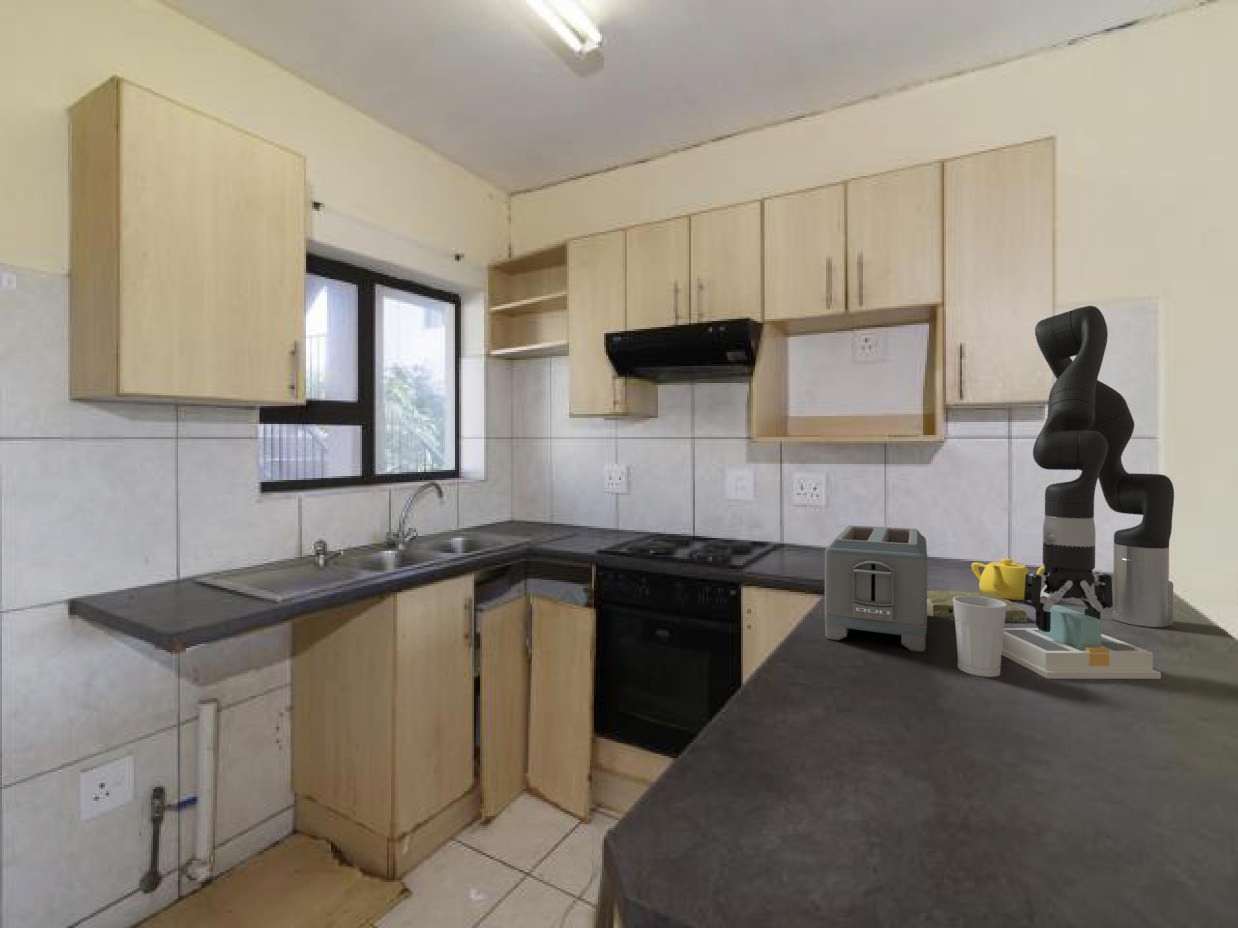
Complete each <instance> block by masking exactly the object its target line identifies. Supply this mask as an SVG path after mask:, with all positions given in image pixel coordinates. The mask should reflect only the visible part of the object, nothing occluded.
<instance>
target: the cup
mask: <svg viewBox="0 0 1238 928" xmlns="http://www.w3.org/2000/svg"><path fill="white" fill-rule="evenodd" d="M953 606H954V617H955V618H954V623H955V638H956V649H957V668H958V670H960V671H962V672H964V673H967V674H970V675H973V676H979V677H987V678H988V677H989V678H993V677H998V676H1000V675H1001V665H1002V664H1001V662H1002V655H1001V654H1002V644H1003V634H1004V628H1005V625H1006V624H1005V623H1006V621H1005V616H1006V608H1007V604H1006V603H1004V602H1002V601H999V600H996V599H991V598H986V597H978V596H957V597H954V598H953Z"/></svg>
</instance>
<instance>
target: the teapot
mask: <svg viewBox="0 0 1238 928" xmlns="http://www.w3.org/2000/svg"><path fill="white" fill-rule="evenodd" d="M1000 561H1001V562H1000ZM1000 561H993V562H992V561H991V562H989V563H987V564H985V563H981V562H972V563H971V566H970V567H971V569H972V572H973V573H974V575H975V576H976V578H978V580H979V583H978V584H979V585H978V586H979V587H978V588H979V589H980V593H991V594H993V595H997V596H1000V597H1001V598H1002V599H1005V600H1010V601H1024V592H1025V578H1026V573H1028V572H1030V570H1029V569H1028V567H1027V566H1026V565H1024V564H1019V563H1018V562H1013V559H1011V558H1001V559H1000ZM979 567H982V568H984V569H983V571H982V573H981V572H980V570H979ZM1044 570H1045V567H1044V566H1040V567H1039V568H1037V571H1036V574H1043V573H1044Z"/></svg>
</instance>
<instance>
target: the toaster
mask: <svg viewBox="0 0 1238 928" xmlns="http://www.w3.org/2000/svg"><path fill="white" fill-rule="evenodd" d="M926 539H927V538H926V537H925V536H924V535H922V533H920V531H919V530H918V529H917V528H909V527H887V526H886V527H885V526H869V525H868V526H867V525H851V524H850V525H847V526H846V527H845V529H843V531H841V532H840V534H838V535H837V537H835V538H834V540H833V541H832V542H831V543H830V544H829V545H828V546H827V547H826V548H825V550H824V623H825V624H824V627H825V628H824V629H825V631H824V633H825V635H824V636H825V637H826V639H827V640H831V641H833V640H834V641H841V640H842V639H844V638H847V637H848V633H849V632H850V630H857V631H865V632H871V633H881V634H888V635H896V636H900V637H901V638H900V643H901V645H902V646H903V647H905V648H906V649H908V650H909V651H910V652H920V653H923V652H924V651H926V634H927V631H928V625H927V624H928V613H927V591H928V550H927V549H928V548H927V540H926Z"/></svg>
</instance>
